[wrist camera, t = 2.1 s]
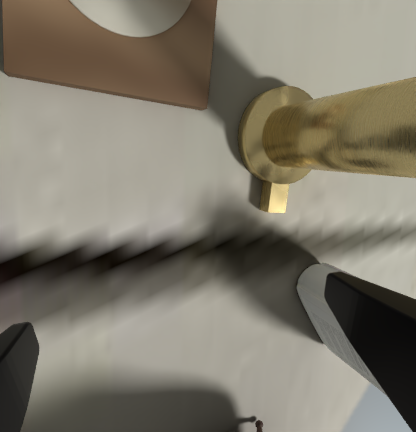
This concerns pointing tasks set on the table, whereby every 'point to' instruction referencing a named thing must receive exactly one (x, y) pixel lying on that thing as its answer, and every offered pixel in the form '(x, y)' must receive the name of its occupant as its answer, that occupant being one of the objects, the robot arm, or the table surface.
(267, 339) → the table surface
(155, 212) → the table surface
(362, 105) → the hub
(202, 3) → the base plate
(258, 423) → the alarm clock
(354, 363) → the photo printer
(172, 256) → the table surface
